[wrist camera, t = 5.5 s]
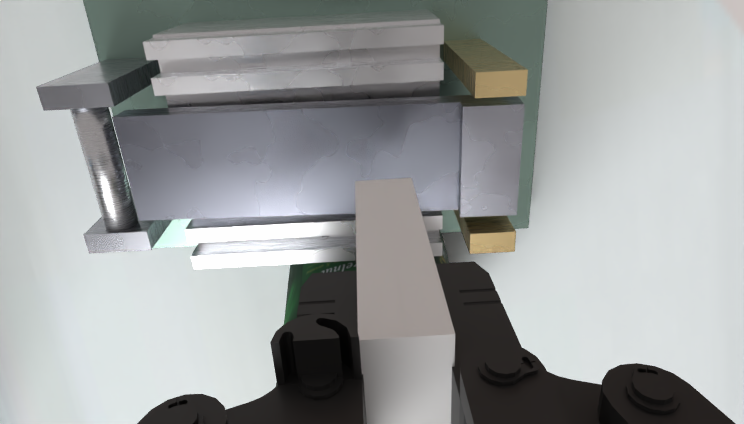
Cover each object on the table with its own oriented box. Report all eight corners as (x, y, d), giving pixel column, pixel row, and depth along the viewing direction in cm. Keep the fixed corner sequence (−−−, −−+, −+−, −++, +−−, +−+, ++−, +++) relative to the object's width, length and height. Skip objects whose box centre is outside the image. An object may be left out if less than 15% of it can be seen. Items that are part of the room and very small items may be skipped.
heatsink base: (155, 238, 28) (82, 338, 20) (91, -13, 22) (-37, 1, 15) (522, 219, 28) (580, 311, 20) (542, -38, 22) (630, -36, 15)
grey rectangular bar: (150, 209, 21) (132, 227, 20) (125, 109, 19) (103, 121, 18) (507, 196, 20) (516, 215, 19) (514, 92, 19) (524, 104, 17)
